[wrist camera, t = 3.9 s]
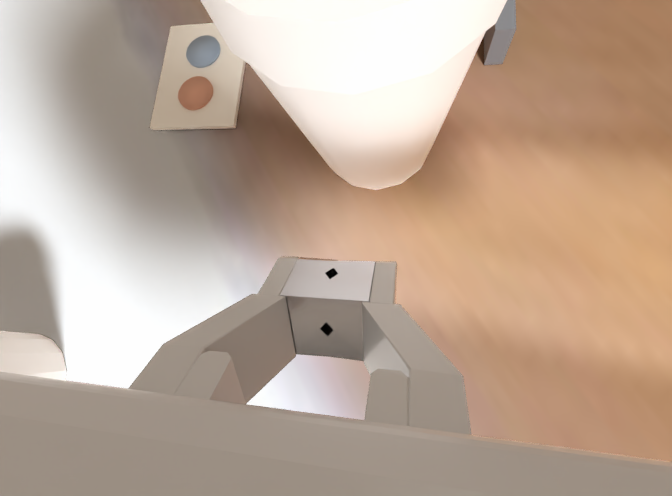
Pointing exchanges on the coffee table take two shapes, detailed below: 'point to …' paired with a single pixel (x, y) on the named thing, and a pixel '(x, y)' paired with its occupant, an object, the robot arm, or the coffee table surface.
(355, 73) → the foam cup
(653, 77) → the coffee table surface
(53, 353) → the shot glass
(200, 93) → the card
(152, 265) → the coffee table surface
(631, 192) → the coffee table surface
